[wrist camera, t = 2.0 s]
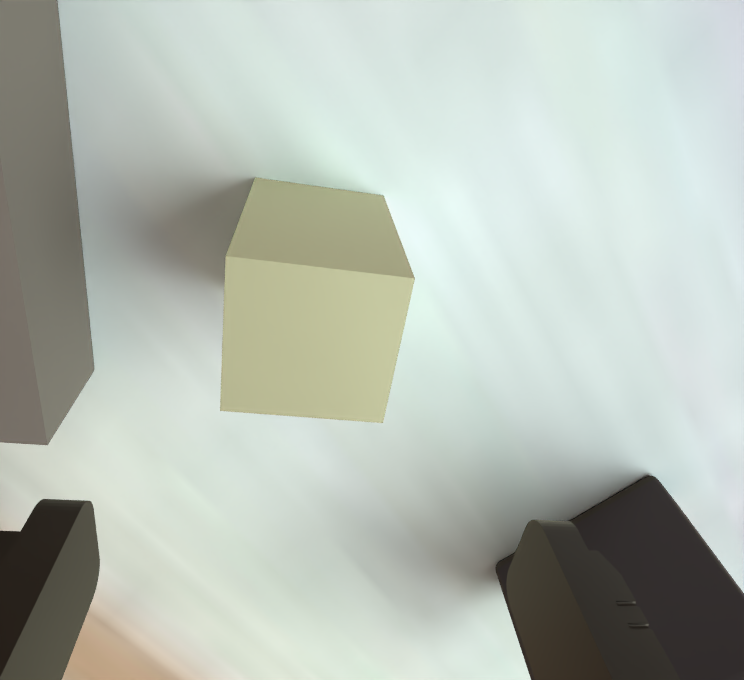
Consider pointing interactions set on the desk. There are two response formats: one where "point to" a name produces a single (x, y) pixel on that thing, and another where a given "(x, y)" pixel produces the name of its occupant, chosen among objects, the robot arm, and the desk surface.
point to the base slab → (38, 232)
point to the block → (313, 304)
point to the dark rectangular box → (666, 580)
